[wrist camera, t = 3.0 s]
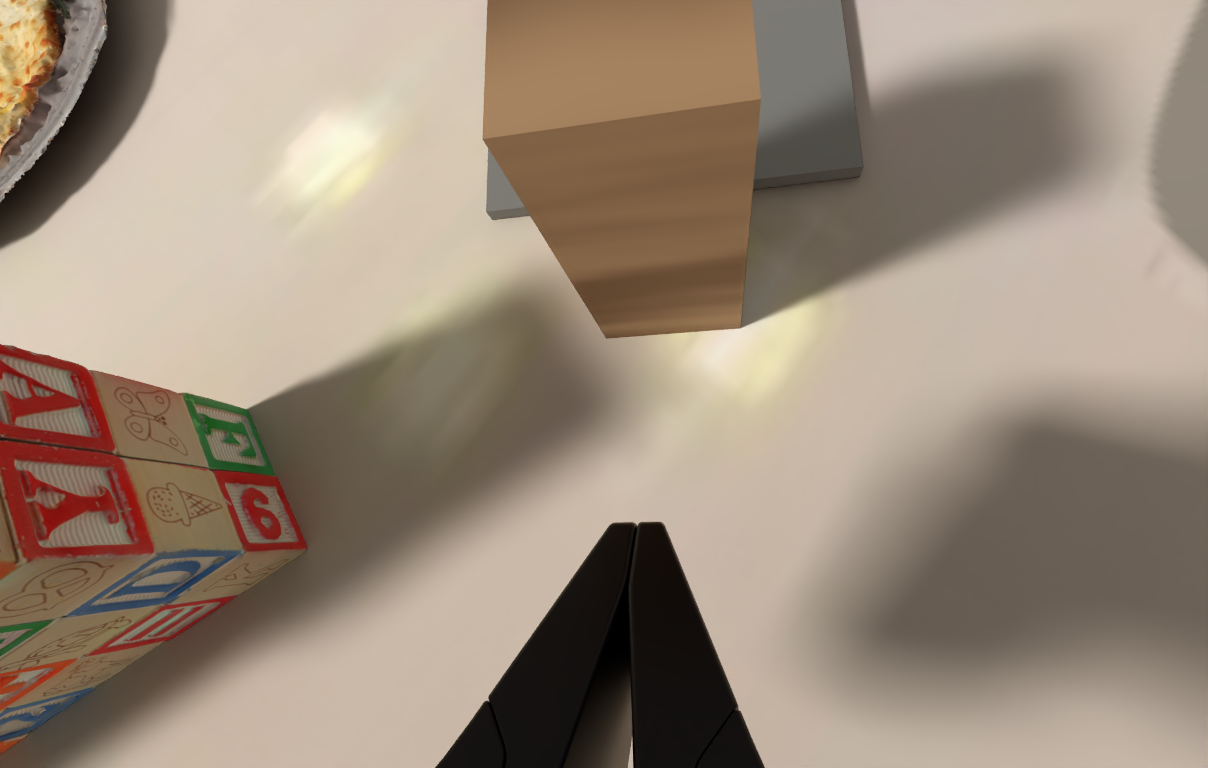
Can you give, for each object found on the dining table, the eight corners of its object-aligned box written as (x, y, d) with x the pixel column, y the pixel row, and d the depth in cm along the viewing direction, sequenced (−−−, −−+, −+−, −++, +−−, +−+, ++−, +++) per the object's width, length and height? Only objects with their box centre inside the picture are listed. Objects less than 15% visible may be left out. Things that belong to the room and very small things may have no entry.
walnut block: (740, 328, 20) (760, 99, 9) (606, 338, 20) (482, 138, 10) (731, 205, 21) (740, -128, 10) (604, 219, 21) (490, -75, 11)
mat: (859, 176, 20) (863, 166, 19) (492, 219, 22) (486, 211, 22) (811, -180, 24) (814, -198, 23) (502, -111, 26) (497, -126, 26)
